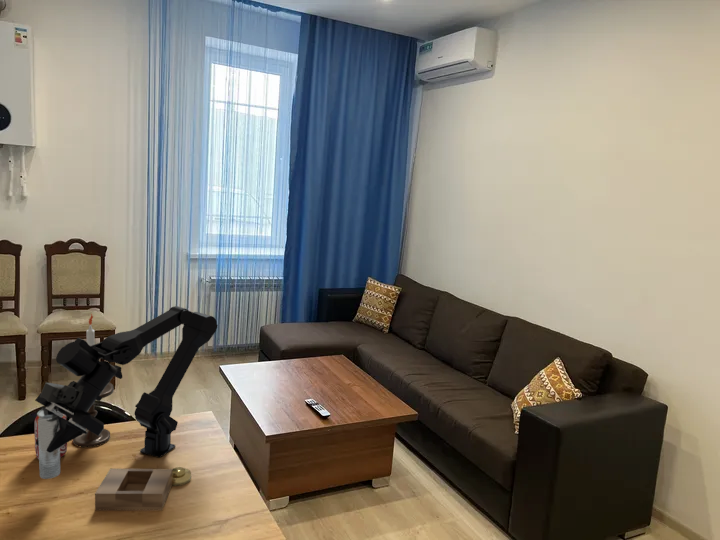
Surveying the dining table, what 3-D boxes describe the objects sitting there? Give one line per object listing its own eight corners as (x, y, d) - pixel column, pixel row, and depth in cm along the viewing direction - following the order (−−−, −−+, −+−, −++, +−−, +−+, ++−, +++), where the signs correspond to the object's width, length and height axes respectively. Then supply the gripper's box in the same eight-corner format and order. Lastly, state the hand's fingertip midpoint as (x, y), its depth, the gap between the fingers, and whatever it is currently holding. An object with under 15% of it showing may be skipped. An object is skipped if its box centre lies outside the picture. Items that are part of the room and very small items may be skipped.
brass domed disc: (175, 469, 136) (175, 461, 136) (196, 475, 135) (196, 467, 134) (159, 482, 131) (159, 473, 130) (180, 488, 129) (181, 479, 129)
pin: (50, 467, 123) (49, 413, 121) (64, 471, 122) (63, 416, 120) (35, 476, 120) (33, 420, 117) (49, 480, 118) (47, 424, 116)
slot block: (110, 484, 129) (110, 468, 128) (172, 484, 130) (172, 469, 130) (95, 510, 119) (94, 493, 118) (162, 510, 121) (162, 493, 120)
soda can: (53, 465, 134) (52, 420, 132) (28, 460, 136) (26, 415, 133) (73, 451, 141) (73, 408, 139) (49, 447, 142) (48, 403, 140)
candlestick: (121, 440, 149) (120, 315, 142) (79, 453, 140) (77, 321, 134) (103, 425, 156) (102, 306, 149) (62, 437, 147) (59, 311, 141)
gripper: (42, 357, 125) (-9, 419, 118) (90, 379, 115) (37, 448, 108) (77, 380, 133) (31, 440, 126) (124, 403, 123) (77, 468, 116)
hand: (42, 448), depth 118 cm, fingers closed on pin, 4 cm apart
